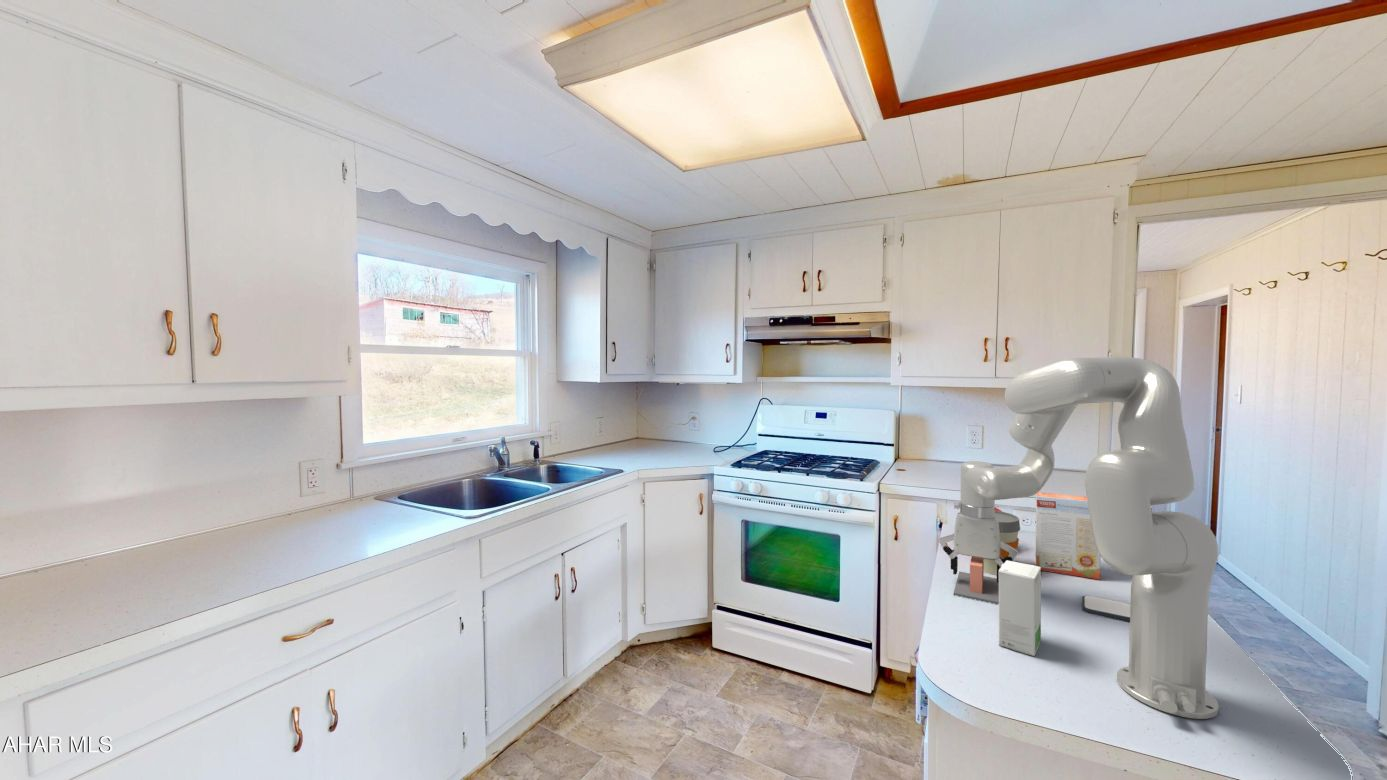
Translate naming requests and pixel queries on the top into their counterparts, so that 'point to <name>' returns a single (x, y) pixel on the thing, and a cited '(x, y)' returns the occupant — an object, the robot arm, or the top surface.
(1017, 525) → the reusable coffee cup
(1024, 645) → the skincare box
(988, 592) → the mat
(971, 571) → the card box
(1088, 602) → the smartphone
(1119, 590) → the top surface
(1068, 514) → the cracker box
